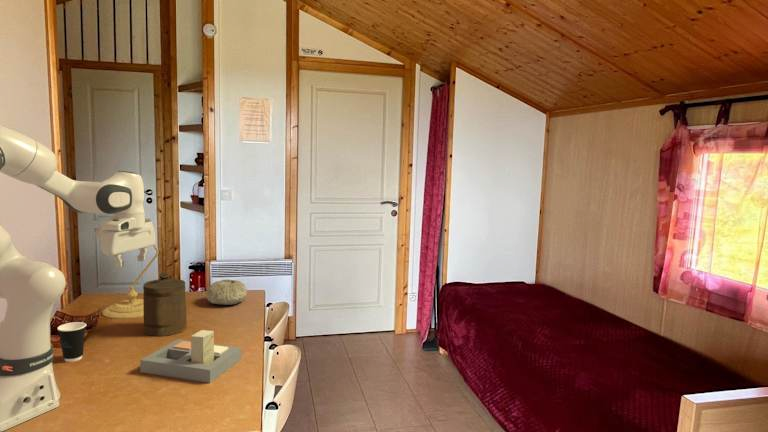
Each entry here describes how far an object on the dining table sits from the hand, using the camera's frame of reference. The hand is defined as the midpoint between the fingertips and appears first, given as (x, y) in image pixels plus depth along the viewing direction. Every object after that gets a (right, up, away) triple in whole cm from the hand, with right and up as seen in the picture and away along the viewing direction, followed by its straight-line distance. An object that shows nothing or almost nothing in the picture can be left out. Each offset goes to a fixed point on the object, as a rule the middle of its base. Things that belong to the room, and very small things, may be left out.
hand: (130, 263), depth 159 cm
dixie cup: (-18, -31, 0) cm, 36 cm away
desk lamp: (-25, -25, +49) cm, 60 cm away
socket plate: (+21, -32, -2) cm, 39 cm away
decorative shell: (+11, -24, +64) cm, 69 cm away
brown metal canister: (-1, -28, +28) cm, 40 cm away
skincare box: (+26, -33, -6) cm, 42 cm away
